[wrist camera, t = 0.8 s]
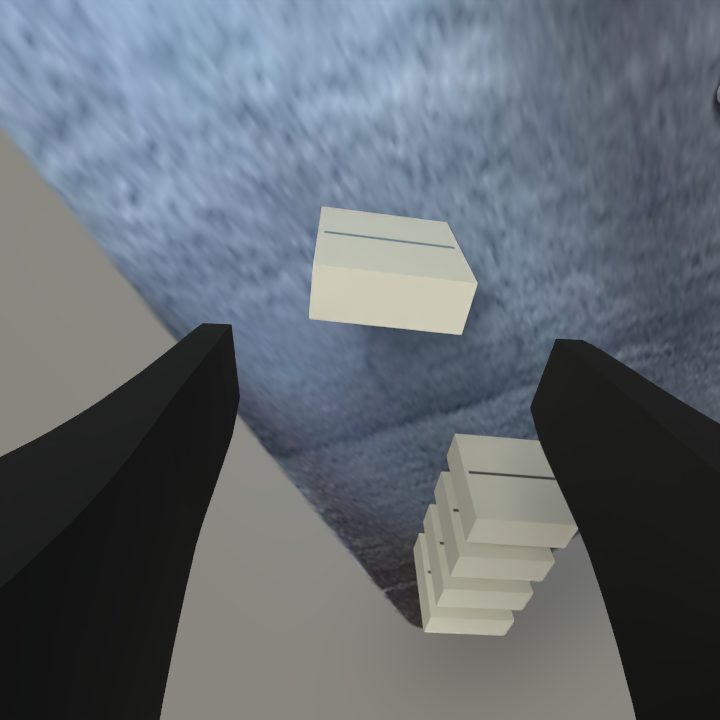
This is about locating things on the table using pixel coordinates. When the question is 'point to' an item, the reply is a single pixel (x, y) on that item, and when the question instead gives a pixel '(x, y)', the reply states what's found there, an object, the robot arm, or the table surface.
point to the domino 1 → (389, 273)
